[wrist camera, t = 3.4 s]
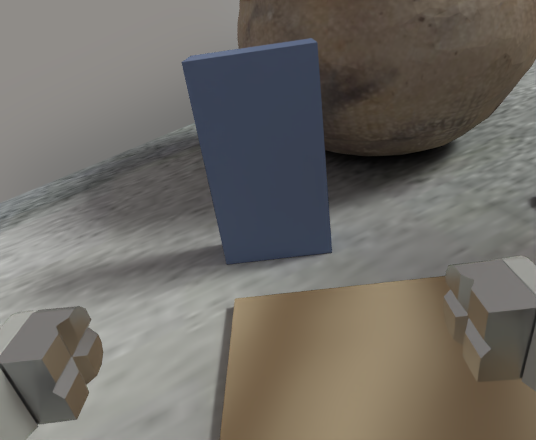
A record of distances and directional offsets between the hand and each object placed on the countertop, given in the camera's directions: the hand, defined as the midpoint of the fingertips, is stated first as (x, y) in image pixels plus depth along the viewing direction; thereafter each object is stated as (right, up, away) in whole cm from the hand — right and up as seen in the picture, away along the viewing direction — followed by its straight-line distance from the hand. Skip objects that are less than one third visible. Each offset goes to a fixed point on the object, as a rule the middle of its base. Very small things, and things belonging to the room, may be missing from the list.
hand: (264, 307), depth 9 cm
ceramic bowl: (+10, +9, +25) cm, 28 cm away
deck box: (+1, 0, +13) cm, 13 cm away
